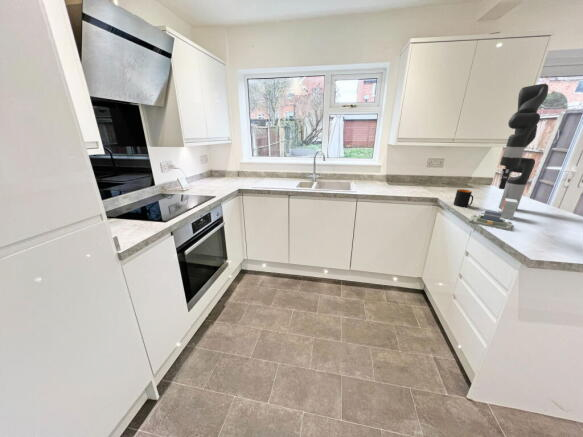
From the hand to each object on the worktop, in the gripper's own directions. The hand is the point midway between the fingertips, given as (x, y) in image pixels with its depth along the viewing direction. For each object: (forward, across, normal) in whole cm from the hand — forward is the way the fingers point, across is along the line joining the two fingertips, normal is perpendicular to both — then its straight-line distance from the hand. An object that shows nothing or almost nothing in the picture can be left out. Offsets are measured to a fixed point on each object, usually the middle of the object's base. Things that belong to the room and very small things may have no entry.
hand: (501, 187), depth 123 cm
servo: (+20, 0, 0) cm, 20 cm away
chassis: (+21, 0, 0) cm, 21 cm away
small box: (+21, -21, +6) cm, 30 cm away
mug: (+21, -29, -17) cm, 40 cm away
